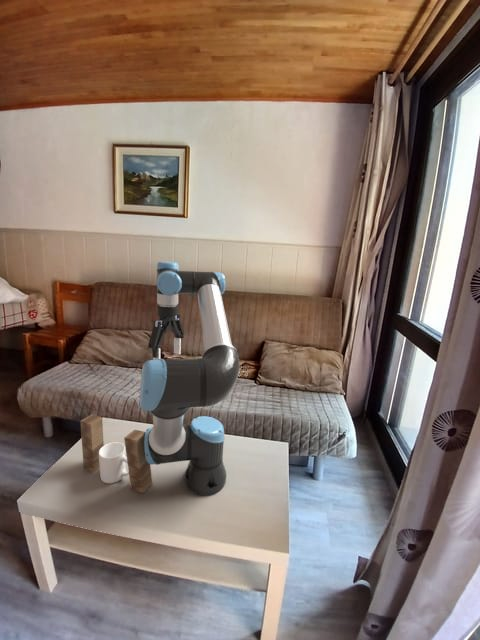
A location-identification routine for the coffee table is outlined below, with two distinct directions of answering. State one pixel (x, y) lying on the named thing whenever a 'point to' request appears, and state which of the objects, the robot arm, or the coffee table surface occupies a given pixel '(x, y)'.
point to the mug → (112, 462)
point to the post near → (137, 461)
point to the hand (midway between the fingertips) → (167, 359)
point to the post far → (91, 441)
